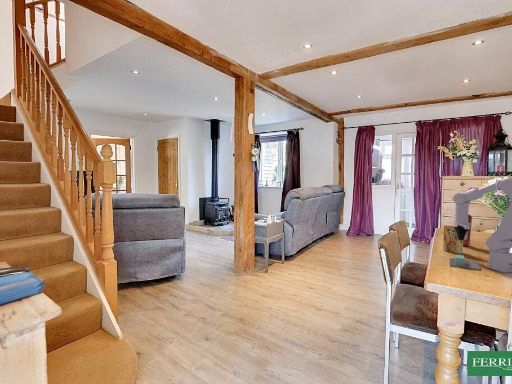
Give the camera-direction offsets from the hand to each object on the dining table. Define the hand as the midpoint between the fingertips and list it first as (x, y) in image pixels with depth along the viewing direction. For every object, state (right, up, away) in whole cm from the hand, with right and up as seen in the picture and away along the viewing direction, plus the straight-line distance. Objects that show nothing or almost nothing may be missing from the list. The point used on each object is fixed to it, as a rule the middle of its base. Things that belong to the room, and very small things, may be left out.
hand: (460, 239), depth 155 cm
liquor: (+20, -8, +25) cm, 33 cm away
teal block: (-7, -8, -8) cm, 14 cm away
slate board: (-6, -11, -11) cm, 16 cm away
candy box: (+4, -9, +12) cm, 16 cm away
